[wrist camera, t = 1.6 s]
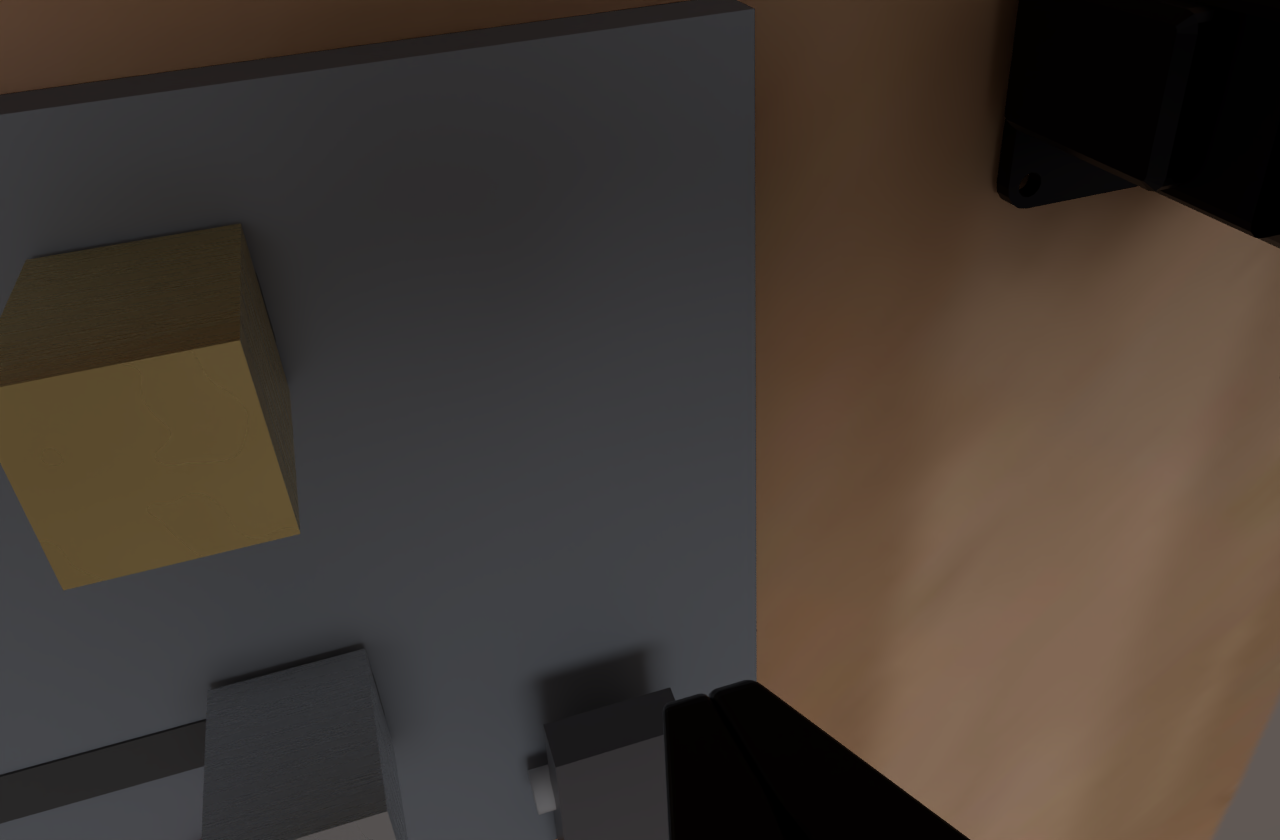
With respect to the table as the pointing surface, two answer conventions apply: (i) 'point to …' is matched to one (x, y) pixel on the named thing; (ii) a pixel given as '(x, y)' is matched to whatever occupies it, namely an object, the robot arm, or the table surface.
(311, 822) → the steel slider
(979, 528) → the table surface
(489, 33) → the panel
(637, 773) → the dark grey small block
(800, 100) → the table surface
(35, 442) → the brass slider
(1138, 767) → the table surface
